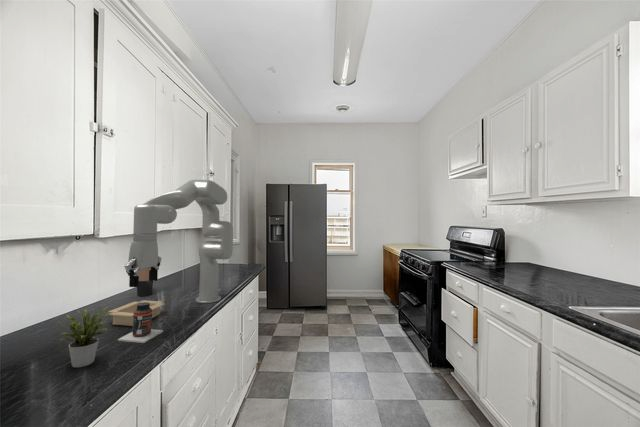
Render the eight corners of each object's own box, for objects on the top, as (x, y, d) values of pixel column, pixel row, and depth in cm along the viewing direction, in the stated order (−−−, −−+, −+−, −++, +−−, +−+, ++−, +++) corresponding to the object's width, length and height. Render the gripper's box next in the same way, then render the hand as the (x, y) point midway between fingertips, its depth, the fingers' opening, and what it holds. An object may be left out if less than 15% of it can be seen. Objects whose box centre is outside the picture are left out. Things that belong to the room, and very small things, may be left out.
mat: (139, 329, 110) (139, 328, 110) (162, 331, 109) (163, 330, 109) (118, 340, 101) (118, 339, 101) (143, 343, 99) (143, 341, 99)
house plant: (122, 347, 95) (124, 299, 96) (110, 368, 83) (112, 312, 83) (69, 354, 90) (71, 303, 90) (47, 377, 77) (49, 317, 77)
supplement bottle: (142, 338, 102) (143, 306, 102) (128, 336, 103) (129, 305, 103) (155, 331, 108) (156, 302, 108) (141, 330, 109) (142, 300, 109)
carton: (138, 310, 132) (138, 299, 132) (168, 312, 130) (168, 302, 130) (101, 326, 113) (102, 313, 113) (136, 329, 111) (137, 316, 111)
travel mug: (151, 292, 162) (152, 257, 163) (153, 295, 156) (155, 259, 157) (135, 294, 157) (136, 258, 158) (137, 297, 152) (139, 260, 152)
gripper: (152, 235, 114) (151, 277, 114) (116, 239, 97) (115, 289, 97) (169, 236, 114) (168, 278, 114) (136, 240, 96) (135, 290, 96)
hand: (143, 283), depth 105 cm, fingers open, 9 cm apart
